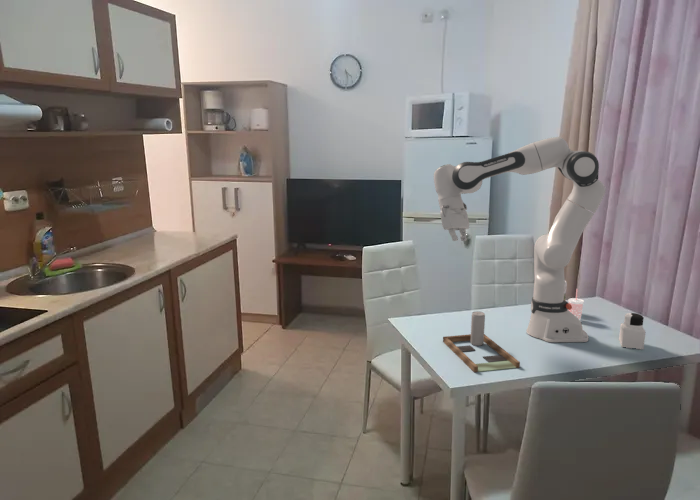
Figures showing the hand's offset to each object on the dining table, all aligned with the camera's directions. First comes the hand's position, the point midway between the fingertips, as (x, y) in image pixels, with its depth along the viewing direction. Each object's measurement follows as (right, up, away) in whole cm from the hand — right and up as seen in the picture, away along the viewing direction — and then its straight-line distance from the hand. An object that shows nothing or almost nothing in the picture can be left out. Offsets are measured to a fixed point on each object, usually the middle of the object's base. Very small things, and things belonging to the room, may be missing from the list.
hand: (459, 240), depth 197 cm
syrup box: (+50, -31, +32) cm, 67 cm away
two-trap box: (+4, -41, -15) cm, 44 cm away
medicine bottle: (+62, -39, -7) cm, 74 cm away
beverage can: (+5, -39, -5) cm, 40 cm away
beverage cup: (+53, -34, +20) cm, 66 cm away
